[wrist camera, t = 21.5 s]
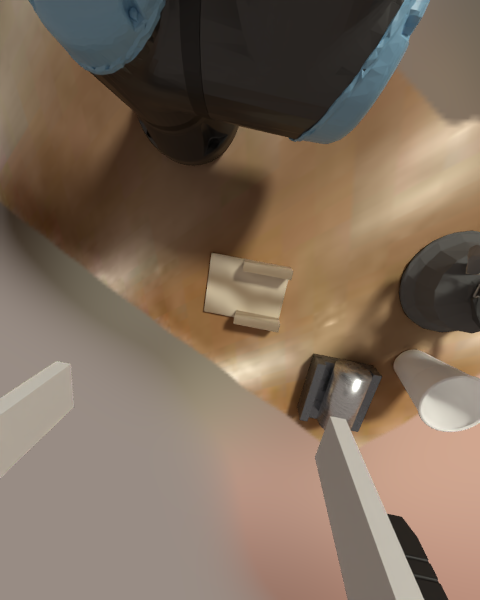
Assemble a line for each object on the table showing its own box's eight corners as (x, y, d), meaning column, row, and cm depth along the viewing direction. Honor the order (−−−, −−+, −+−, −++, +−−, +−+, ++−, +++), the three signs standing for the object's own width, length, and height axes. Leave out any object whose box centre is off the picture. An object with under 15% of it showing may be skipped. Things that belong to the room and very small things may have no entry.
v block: (313, 353, 45) (317, 363, 42) (373, 365, 45) (381, 376, 41) (297, 406, 49) (299, 419, 46) (351, 417, 49) (358, 431, 45)
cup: (375, 381, 46) (409, 427, 35) (389, 336, 43) (431, 371, 32) (428, 388, 45) (478, 436, 35) (446, 342, 42) (507, 380, 32)
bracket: (212, 252, 41) (207, 255, 38) (290, 267, 40) (293, 271, 37) (204, 310, 44) (199, 317, 41) (276, 324, 44) (278, 332, 41)
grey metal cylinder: (314, 408, 47) (321, 432, 41) (331, 357, 43) (341, 376, 38) (343, 414, 47) (354, 440, 41) (363, 363, 43) (378, 384, 37)
